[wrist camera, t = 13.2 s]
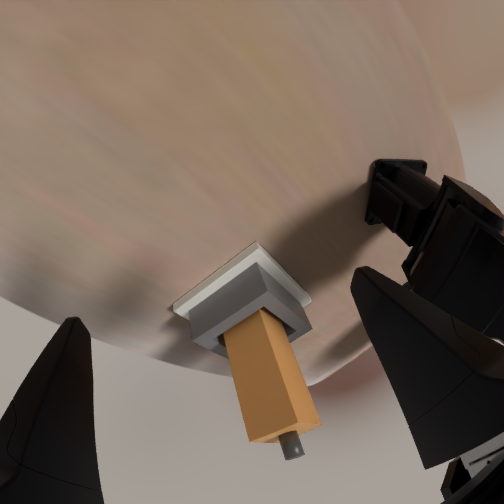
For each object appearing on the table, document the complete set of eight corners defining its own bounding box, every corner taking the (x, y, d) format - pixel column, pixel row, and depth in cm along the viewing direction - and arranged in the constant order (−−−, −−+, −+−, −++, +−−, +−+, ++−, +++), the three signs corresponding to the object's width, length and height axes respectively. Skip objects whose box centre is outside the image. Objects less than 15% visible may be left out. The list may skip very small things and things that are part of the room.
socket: (255, 241, 23) (271, 276, 20) (308, 294, 30) (325, 326, 26) (173, 303, 26) (175, 341, 22) (237, 341, 32) (245, 373, 28)
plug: (251, 286, 25) (307, 448, 14) (274, 305, 28) (330, 446, 16) (218, 309, 26) (256, 466, 15) (243, 325, 28) (285, 463, 17)
